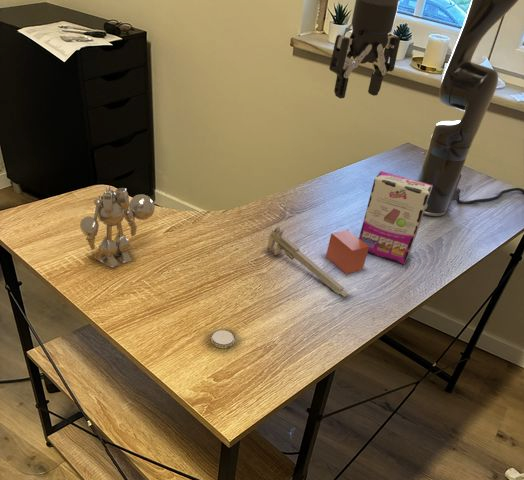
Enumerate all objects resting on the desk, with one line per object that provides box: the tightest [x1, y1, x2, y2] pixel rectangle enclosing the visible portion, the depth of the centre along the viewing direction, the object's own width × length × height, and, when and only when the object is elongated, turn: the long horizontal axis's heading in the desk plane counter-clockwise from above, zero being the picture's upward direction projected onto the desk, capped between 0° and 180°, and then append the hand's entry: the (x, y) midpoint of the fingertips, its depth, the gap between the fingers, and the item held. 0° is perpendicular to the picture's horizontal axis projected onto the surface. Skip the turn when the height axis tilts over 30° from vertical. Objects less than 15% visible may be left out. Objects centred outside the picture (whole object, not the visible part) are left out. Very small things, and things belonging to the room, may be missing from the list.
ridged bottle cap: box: [210, 329, 236, 349], centre depth 88 cm, size 4×4×1 cm
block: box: [325, 229, 369, 275], centre depth 109 cm, size 4×7×6 cm, turn 32°
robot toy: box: [79, 185, 156, 268], centre depth 98 cm, size 15×6×15 cm, turn 134°
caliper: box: [267, 226, 348, 298], centre depth 104 cm, size 20×1×6 cm, turn 47°
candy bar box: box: [358, 170, 433, 265], centre depth 110 cm, size 11×5×16 cm, turn 66°
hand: (356, 95), depth 104 cm, fingers open, 8 cm apart
